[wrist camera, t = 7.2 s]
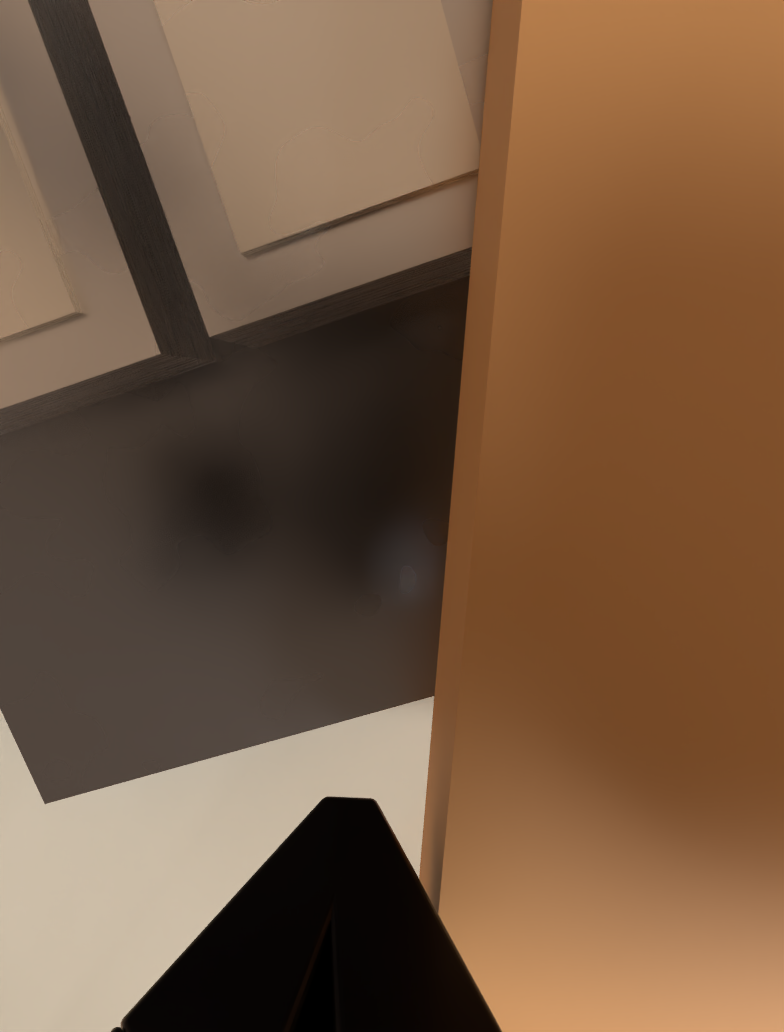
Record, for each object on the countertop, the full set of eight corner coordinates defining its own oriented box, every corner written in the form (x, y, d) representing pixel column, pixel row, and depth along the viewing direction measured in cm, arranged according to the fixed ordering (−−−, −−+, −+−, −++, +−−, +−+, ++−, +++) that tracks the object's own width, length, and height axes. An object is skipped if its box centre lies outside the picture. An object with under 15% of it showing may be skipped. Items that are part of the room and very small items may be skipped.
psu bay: (76, 769, 14) (-57, 917, 10) (-404, -291, 10) (-891, -695, 7) (818, 559, 13) (1001, 637, 9) (550, -759, 9) (653, -1642, 5)
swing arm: (523, -357, 6) (623, -1055, 3) (925, -341, 6) (1423, -1050, 3) (413, 950, 10) (410, 1225, 6) (684, 973, 9) (816, 1264, 6)
